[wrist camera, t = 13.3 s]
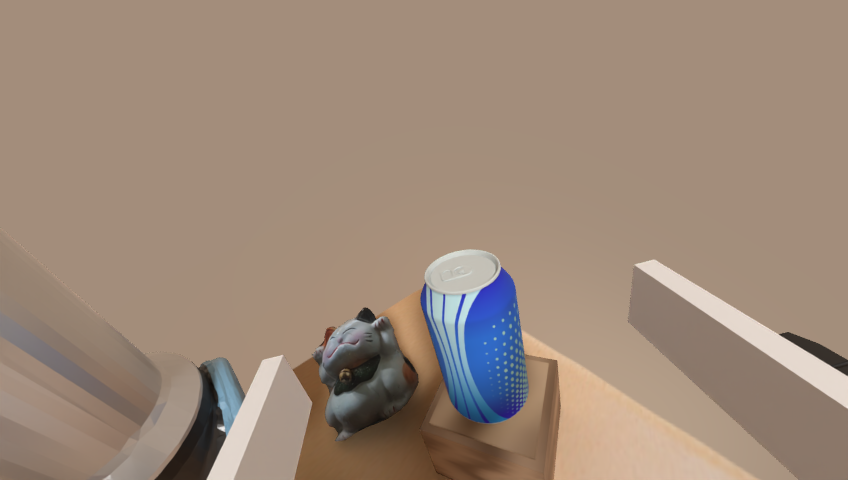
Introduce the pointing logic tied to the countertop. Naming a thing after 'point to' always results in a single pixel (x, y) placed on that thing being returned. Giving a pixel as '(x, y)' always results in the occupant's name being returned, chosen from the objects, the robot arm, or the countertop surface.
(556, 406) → the block
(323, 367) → the lucky cat figurine
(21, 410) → the robot arm
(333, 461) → the countertop surface
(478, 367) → the beer can
